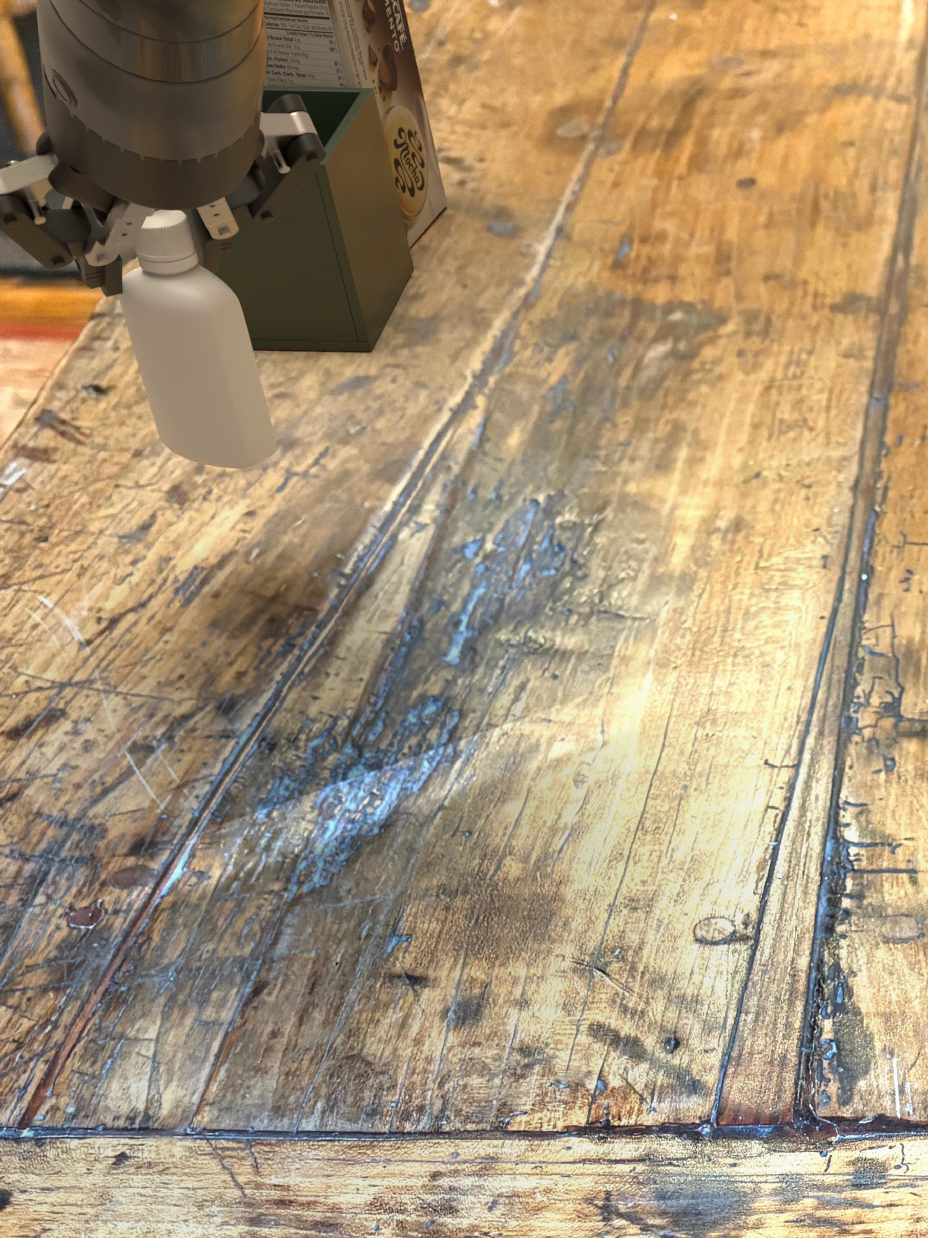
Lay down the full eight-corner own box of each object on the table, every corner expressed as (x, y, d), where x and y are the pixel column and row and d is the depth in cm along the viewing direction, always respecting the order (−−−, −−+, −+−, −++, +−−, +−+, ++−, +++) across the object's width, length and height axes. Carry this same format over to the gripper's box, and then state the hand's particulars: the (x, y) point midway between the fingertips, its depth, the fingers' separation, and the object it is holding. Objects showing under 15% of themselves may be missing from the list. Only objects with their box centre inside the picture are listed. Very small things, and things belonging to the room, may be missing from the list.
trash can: (176, 348, 115) (115, 159, 107) (231, 265, 122) (178, 83, 115) (371, 352, 115) (324, 163, 107) (414, 268, 123) (373, 87, 115)
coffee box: (356, 198, 130) (290, -78, 118) (450, 206, 129) (393, -70, 118) (298, 257, 123) (222, -28, 112) (397, 265, 123) (331, -20, 111)
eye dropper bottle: (246, 415, 95) (178, 155, 87) (287, 462, 92) (221, 196, 84) (154, 436, 93) (75, 171, 85) (192, 485, 90) (114, 215, 82)
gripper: (298, -74, 75) (271, 151, 91) (-98, -13, 69) (-55, 217, 85) (383, 117, 76) (342, 308, 92) (-1, 194, 70) (25, 384, 86)
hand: (151, 263), depth 88 cm, fingers closed on eye dropper bottle, 3 cm apart
